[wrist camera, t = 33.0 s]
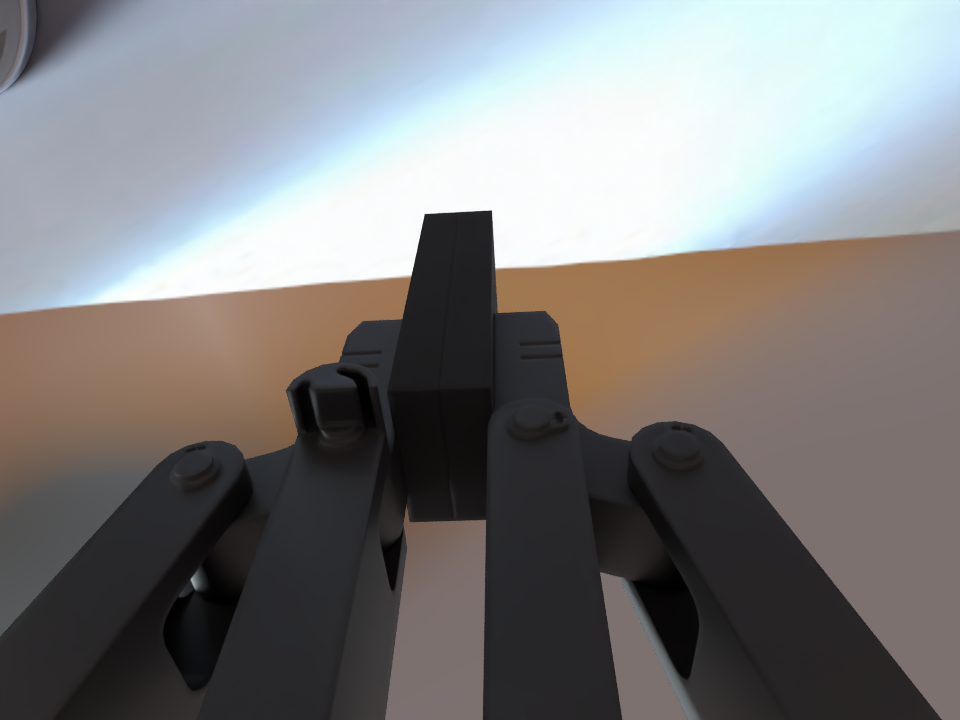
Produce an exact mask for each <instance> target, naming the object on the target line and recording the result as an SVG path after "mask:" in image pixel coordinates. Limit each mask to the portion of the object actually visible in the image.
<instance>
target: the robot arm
mask: <svg viewBox="0 0 960 720" xmlns="http://www.w3.org/2000/svg"><path fill="white" fill-rule="evenodd" d="M36 22H37V10H36V0H0V94H1V93H2V92H3V91H5V90H6V89H7V88H9V87H10V86H11V85H12V84H13V83H14V82H15V81H16V79H17V78H18V77H19V75H20V74H21V73H22V71H23V70H24V68H25V66H26V64H27V62H28V60H29V57H30V55H31V52H32V48H33V44H34V40H35V34H36ZM562 356H563V355H562V348H561V341H560V334H559V327H558V324H557V323H556V322H555V321H554V320H553V319H552V318H551V317H550V316H549V315H548V314H547V313H546V311H535V312H514V313H498V311H497V294H496V276H495V258H494V240H493V222H492V211H474V212H455V213H437V214H425V216H424V221H423V225H422V230H421V235H420V239H419V244H418V249H417V253H416V258H415V263H414V267H413V272H412V277H411V282H410V287H409V291H408V296H407V300H406V305H405V310H404V314H403V319H401V320H382V321H381V320H379V321H363V322H362V323H361V324H359V325H358V326H357V327H356V328H355V329H354V330H353V331H352V332H351V333H350V334H349V335H348V336H347V339H346V342H345V345H344V348H343V351H342V356H341V357H340V361H339V362H338V363H332V364H326V365H321V366H319V367H316V368H313V369H311V370H308V371H306V372H304V373H303V374H301V375H300V376H299V377H297V378H296V379H294V380H293V381H292V383H291V384H290V386H289V387H288V388H287V390H286V392H287V396H288V400H289V403H290V407H291V410H292V414H293V417H294V421H295V424H296V428H297V432H298V436H297V439H296V442H295V444H293V445H291V446H289V447H288V448H285V449H282V450H279V451H276V452H273V453H269V454H265V455H261V456H257V457H254V458H250V459H246V460H244V457H243V454H242V453H241V452H240V450H239V449H238V448H237V447H236V446H235V445H232V444H229V443H226V442H223V441H204V442H201V443H196V444H192V445H189V446H186V447H184V448H182V449H180V450H178V451H176V452H174V453H172V454H170V455H169V456H168V457H167V458H165V459H164V460H163V461H162V462H161V463H159V464H158V465H157V466H156V467H155V468H154V469H153V470H152V472H151V473H150V474H149V475H148V476H147V477H146V478H145V479H144V480H143V481H142V482H141V484H140V485H139V486H138V487H137V488H136V489H135V490H134V491H133V492H132V493H131V494H130V495H129V497H128V498H127V499H126V500H125V501H124V502H123V503H122V504H121V505H120V506H119V507H118V509H117V510H116V511H115V512H114V513H113V514H112V515H111V516H110V517H109V519H107V521H106V522H105V523H104V524H103V525H102V526H101V527H100V528H99V529H98V531H97V532H96V533H95V534H94V535H93V536H92V537H91V538H90V539H89V540H88V541H87V542H86V544H85V545H84V546H83V547H82V548H81V549H80V550H79V551H78V553H76V554H75V556H74V557H73V558H72V559H71V560H70V561H69V562H68V563H67V564H66V566H65V567H64V568H63V569H62V570H61V571H60V572H59V573H58V574H57V576H55V577H54V578H53V580H52V581H51V582H50V583H49V584H48V585H47V586H46V587H45V588H44V590H43V591H42V592H41V593H40V594H39V595H38V596H37V597H36V599H34V601H33V602H32V603H31V604H30V605H29V606H28V607H27V608H26V609H25V611H23V613H21V615H20V616H19V617H18V618H17V619H16V620H15V621H14V622H13V623H12V624H11V626H10V627H9V628H8V629H7V630H6V631H5V632H4V633H3V634H2V635H1V636H0V720H385V715H386V708H387V700H388V691H389V685H390V677H391V669H392V660H393V654H394V646H395V638H396V630H397V622H398V615H399V607H400V599H401V591H402V584H403V576H404V568H405V560H406V553H407V545H406V537H405V531H404V525H403V524H404V517H405V509H406V503H407V509H408V515H409V520H410V522H430V521H462V520H486V565H485V566H486V567H485V572H486V573H485V627H484V629H485V630H484V689H483V691H484V692H483V720H622V715H621V709H620V702H619V695H618V688H617V682H616V675H615V669H614V662H613V655H612V649H611V642H610V636H609V629H608V623H607V616H606V609H605V603H604V596H603V590H602V583H601V576H600V572H603V573H607V574H610V575H614V576H618V577H621V581H622V585H623V587H624V589H625V591H626V593H627V595H628V598H629V600H630V602H631V604H632V606H633V608H634V610H635V612H636V614H637V616H638V619H639V621H640V623H641V625H642V627H643V629H644V631H645V633H646V635H647V637H648V639H649V642H650V644H651V646H652V648H653V650H654V652H655V654H656V656H657V658H658V660H659V662H660V664H661V666H662V668H663V671H664V673H665V675H666V677H667V679H668V681H669V683H670V685H671V687H672V690H673V692H674V694H675V696H676V698H677V700H678V702H679V704H680V706H681V708H682V710H683V712H684V715H685V717H686V718H687V720H942V719H941V718H940V717H939V716H938V714H937V713H936V712H935V710H934V709H933V708H932V707H931V706H930V704H929V703H928V702H927V700H926V699H925V698H924V697H923V695H922V694H921V693H920V692H919V690H918V689H917V688H916V687H915V685H914V684H913V683H912V681H911V680H910V679H909V678H908V676H907V675H906V674H905V673H904V671H903V670H902V669H901V668H900V666H899V665H898V664H897V663H896V661H895V660H894V659H893V658H892V656H891V655H890V654H889V653H888V651H887V650H886V649H885V648H884V646H883V645H882V644H881V642H880V641H879V640H878V639H877V637H876V636H875V635H874V634H873V632H872V631H871V630H870V628H869V627H868V626H867V625H866V623H865V622H864V621H863V620H862V618H861V617H860V616H859V615H858V613H857V612H856V611H855V610H854V608H853V607H852V606H851V604H850V603H849V602H848V601H847V599H846V598H845V597H844V596H843V594H842V593H841V592H840V591H839V589H838V588H837V587H836V586H835V585H834V583H833V582H832V580H830V578H829V577H828V575H827V574H826V573H825V572H824V570H823V569H822V568H821V567H820V565H819V564H818V563H817V562H816V560H815V559H814V558H813V557H812V555H811V554H810V553H809V551H808V550H807V549H806V548H805V547H804V545H803V544H802V543H801V541H800V540H799V539H798V538H797V536H796V535H795V534H794V533H793V531H792V530H791V529H790V527H789V526H788V525H787V524H786V523H785V521H784V520H783V519H782V518H781V516H780V515H779V514H778V512H777V511H776V510H775V509H774V507H773V506H772V505H771V504H770V502H769V501H768V500H767V499H766V497H765V496H764V495H763V494H762V492H761V491H760V490H759V488H758V487H757V486H756V485H755V483H754V482H753V481H752V480H751V478H750V477H749V476H748V475H747V473H746V472H745V471H744V469H743V468H742V467H741V466H740V464H739V463H738V462H737V461H736V459H735V458H734V457H733V456H732V454H731V453H730V452H729V451H728V449H727V448H726V447H725V445H724V444H723V443H722V442H721V441H720V440H718V439H717V438H716V437H715V436H714V435H713V434H712V433H711V432H709V431H707V430H704V429H702V428H700V427H698V426H696V425H693V424H687V423H682V422H676V421H673V422H659V423H655V424H652V425H649V426H646V427H644V428H642V429H641V430H640V431H639V432H638V433H636V434H635V436H633V437H632V441H627V440H622V439H616V438H612V437H608V436H604V435H601V434H598V433H596V432H594V431H592V430H590V429H588V428H586V427H585V426H584V425H583V424H581V423H580V422H579V421H578V420H577V419H576V417H575V416H574V415H573V413H572V410H571V408H570V402H569V395H568V389H567V382H566V375H565V368H564V361H563V357H562Z"/></svg>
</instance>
